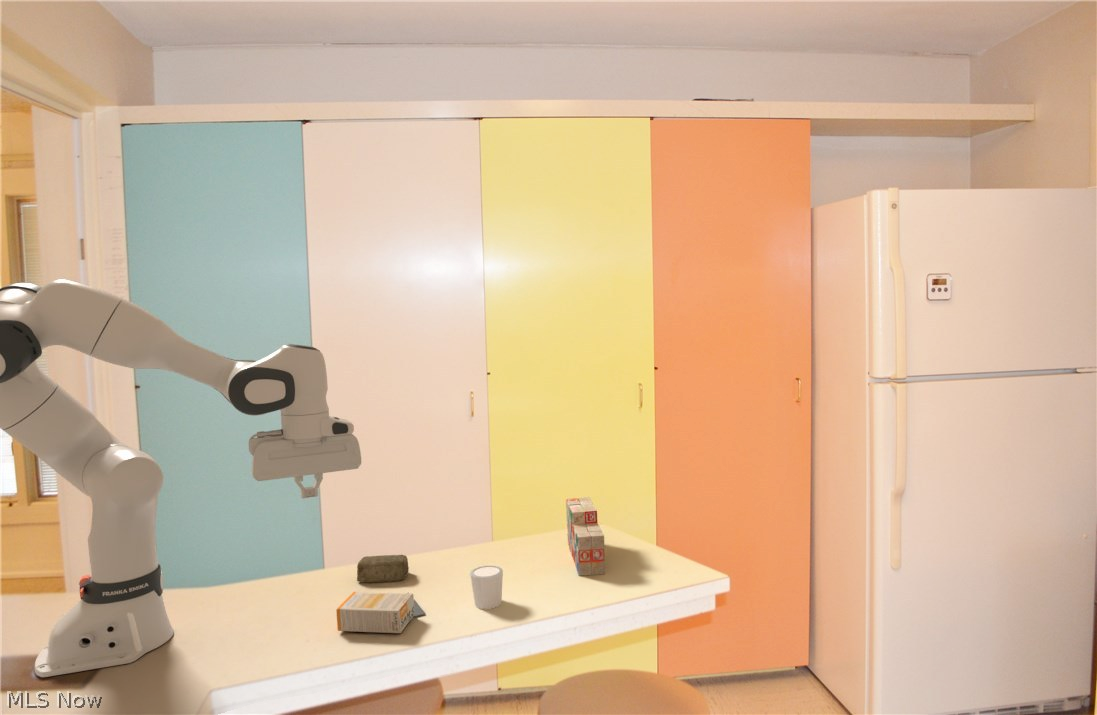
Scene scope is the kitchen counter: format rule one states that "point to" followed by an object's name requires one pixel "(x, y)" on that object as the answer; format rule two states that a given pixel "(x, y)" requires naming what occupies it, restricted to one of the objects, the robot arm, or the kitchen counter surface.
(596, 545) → the stack of blocks
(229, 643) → the kitchen counter surface
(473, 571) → the white cup
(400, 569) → the stone block
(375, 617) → the supplement box
